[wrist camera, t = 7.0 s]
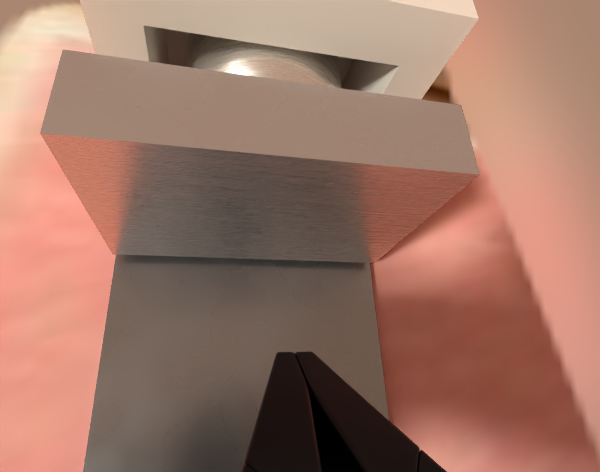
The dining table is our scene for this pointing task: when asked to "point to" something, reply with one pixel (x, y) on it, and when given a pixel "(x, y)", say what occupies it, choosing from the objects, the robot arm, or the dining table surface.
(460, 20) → the socket
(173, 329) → the plate
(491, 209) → the dining table surface
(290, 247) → the grey piece
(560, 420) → the dining table surface
